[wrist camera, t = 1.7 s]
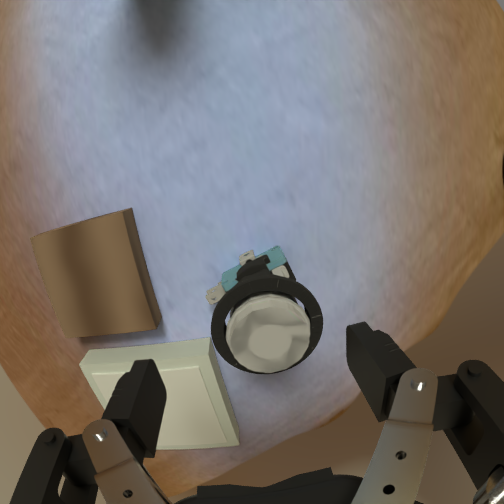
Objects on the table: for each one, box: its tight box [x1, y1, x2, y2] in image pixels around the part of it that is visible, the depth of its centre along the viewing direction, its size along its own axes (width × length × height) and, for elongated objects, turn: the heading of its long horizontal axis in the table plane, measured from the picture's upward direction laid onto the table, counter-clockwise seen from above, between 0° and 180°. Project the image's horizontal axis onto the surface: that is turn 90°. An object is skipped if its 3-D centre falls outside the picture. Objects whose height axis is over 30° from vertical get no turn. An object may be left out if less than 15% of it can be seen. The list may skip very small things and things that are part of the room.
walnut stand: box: [30, 208, 162, 338], centre depth 21 cm, size 9×9×2 cm
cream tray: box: [79, 337, 239, 449], centre depth 24 cm, size 12×12×3 cm
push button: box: [206, 246, 323, 374], centre depth 18 cm, size 7×5×10 cm
